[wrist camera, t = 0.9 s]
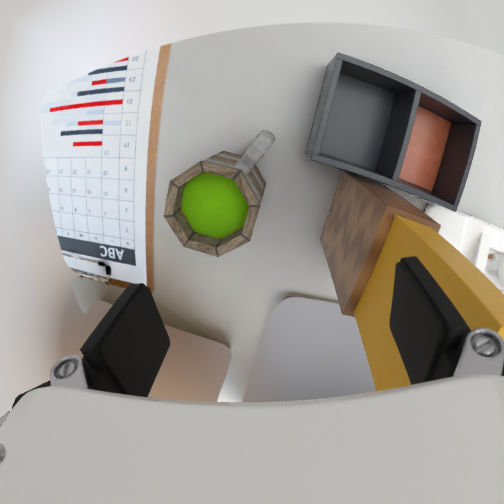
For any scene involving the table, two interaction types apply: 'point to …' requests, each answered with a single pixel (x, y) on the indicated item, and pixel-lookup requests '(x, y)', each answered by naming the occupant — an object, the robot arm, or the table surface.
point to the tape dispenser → (473, 240)
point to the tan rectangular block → (361, 233)
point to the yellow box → (446, 275)
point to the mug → (218, 199)
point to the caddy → (393, 132)
